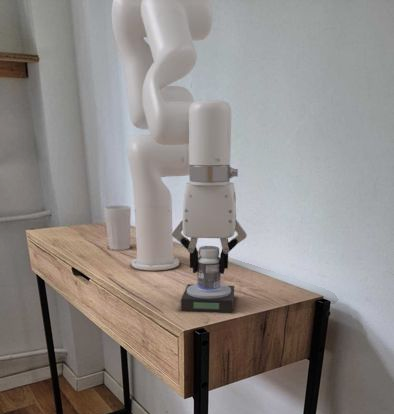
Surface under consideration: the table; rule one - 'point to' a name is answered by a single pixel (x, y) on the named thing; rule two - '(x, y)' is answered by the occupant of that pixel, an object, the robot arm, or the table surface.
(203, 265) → the pill bottle
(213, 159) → the robot arm
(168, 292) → the table surface
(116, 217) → the cup
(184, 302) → the scale
